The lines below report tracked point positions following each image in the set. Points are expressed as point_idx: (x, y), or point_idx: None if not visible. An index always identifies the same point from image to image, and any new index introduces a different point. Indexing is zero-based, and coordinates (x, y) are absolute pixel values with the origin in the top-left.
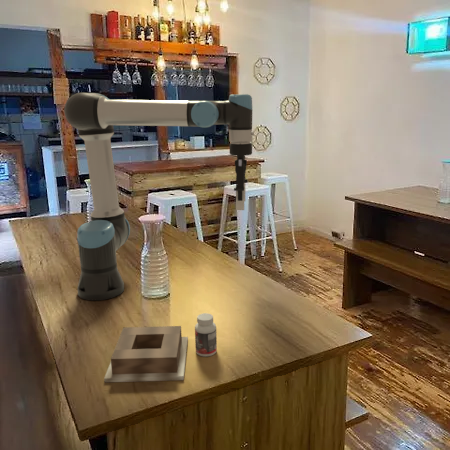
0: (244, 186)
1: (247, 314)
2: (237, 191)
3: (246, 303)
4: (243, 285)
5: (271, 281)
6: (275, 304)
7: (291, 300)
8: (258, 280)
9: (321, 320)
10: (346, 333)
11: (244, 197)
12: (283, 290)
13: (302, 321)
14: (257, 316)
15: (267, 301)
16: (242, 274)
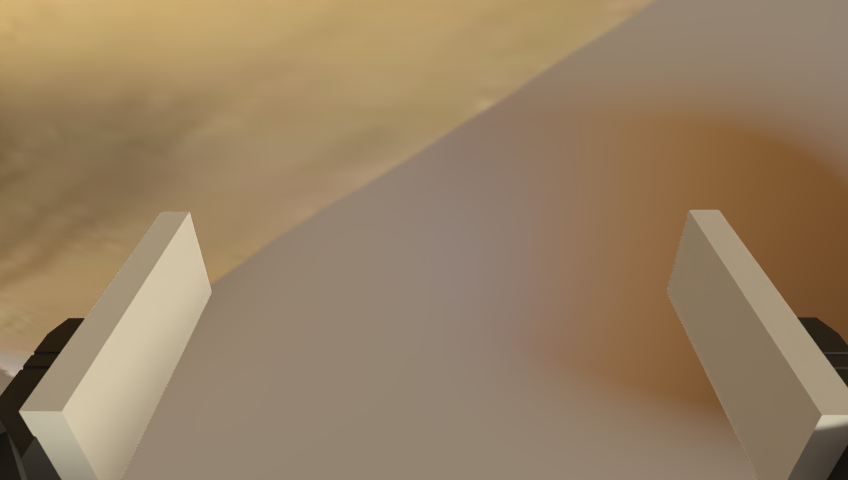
0: (750, 448)
1: (17, 56)
2: (41, 417)
3: (126, 48)
4: (340, 24)
5: (405, 159)
6: (156, 169)
7: (212, 227)
8: (414, 100)
9: (80, 300)
10: (22, 348)
11: (686, 317)
12: (307, 204)
13: (47, 249)
14: (17, 98)
15: (176, 139)
16: (499, 11)
